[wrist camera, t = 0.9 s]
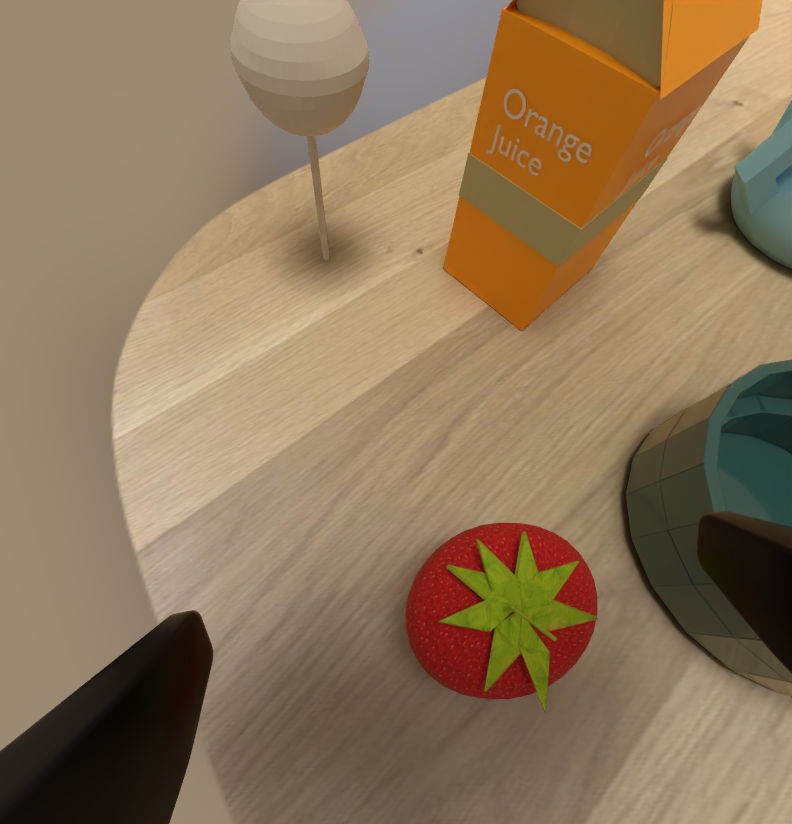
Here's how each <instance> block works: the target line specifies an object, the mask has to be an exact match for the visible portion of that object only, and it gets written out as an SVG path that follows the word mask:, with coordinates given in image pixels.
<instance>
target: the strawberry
mask: <svg viewBox="0 0 792 824" xmlns="http://www.w3.org/2000/svg"><path fill="white" fill-rule="evenodd" d="M596 617H597V593H596V588H595V583H594V579H593V577H592V575H591V572H590V570H589V567H588V565H587V564H586V562H585V561H584V560H583V558H582V557H581V555H580V554H579V552H578V551H577V550H576V549H575V548H573V547H572V546H571V545H570V544H569V543H568V542H567V541H566V540H564V539H563V538H561V537H560V536H558V535H556V534H555V533H553V532H551V531H548V530H546V529H543V528H541V527H537V526H532V525H527V524H521V523H494V524H487V525H481V526H478V527H475V528H472V529H469V530H466V531H464V532H462V533H460V534H459V535H457V536H455V537H453V538H451V539H450V540H448V541H447V542H446V543H444V544H443V545H442V546H440V547H439V548H438V549H437V550H436V551H435V552H434V553H433V554H432V555H431V556H430V557H429V558H428V559H427V561H426V562H425V563H424V565H423V566H422V568H421V569H420V571H419V572H418V574H417V576H416V577H415V580H414V582H413V585H412V587H411V590H410V592H409V596H408V602H407V607H406V630H407V634H408V638H409V642H410V646H411V648H412V650H413V652H414V654H415V656H416V658H417V660H418V662H419V663H420V664H421V665H422V667H423V668H424V669H425V670H426V671H427V673H428V674H429V675H430V676H431V677H433V678H434V679H435V680H437V681H438V682H439V683H441V684H442V685H443V686H445V687H447V688H449V689H451V690H453V691H456V692H458V693H460V694H463V695H468V696H473V697H477V698H484V699H512V698H517V697H522V696H526V695H530V694H532V693H534V692H537V693H538V696H539V698H540V701H541V703H542V706H543V708H544V711H545V713H546V703H547V688H548V686H549V685H551V684H552V683H554V682H555V681H557V680H558V679H560V678H561V677H563V676H564V675H565V674H566V673H567V672H568V671H569V670H570V669H571V668H572V667H573V666H574V665H575V664H576V663H577V661H578V660H579V658H580V657H581V655H582V654H583V652H584V651H585V649H586V648H587V645H588V643H589V641H590V638H591V636H592V634H593V631H594V627H595V622H596V619H597V618H596Z"/></svg>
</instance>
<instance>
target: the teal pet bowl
mask: <svg viewBox="0 0 792 824" xmlns="http://www.w3.org/2000/svg"><path fill="white" fill-rule="evenodd" d="M626 501H627V508H628V516H629V524H630V531H631V538H632V541H633V544H634V546H635V548H636V551H637V553H638V555H639V558H640V560H641V562H642V565H643V567H644V570H645V572H646V574H647V577H648V579H649V581H650V584H651V586H652V587H653V589H654V590H655V591H656V593H657V594H658V595H659V597H660V598H661V599H662V601H663V602H664V603H665V605H666V606H667V607H668V609H669V610H670V611H671V613H672V614H673V615H674V617H675V618H676V619H677V621H678V622H679V623H680V625H681V626H682V627H683V629H684V630H685V631H686V632H687V633H688V634H689V635H690V636H691V637H692V638H694V639H695V640H696V641H697V642H698V643H700V644H701V645H702V646H703V647H704V648H706V649H707V650H708V651H709V652H710V653H711V654H713V655H714V656H715V657H716V658H717V659H719V660H720V661H721V662H722V663H723V664H725V665H726V666H727V667H728V668H729V669H731V670H733V671H734V672H736V673H738V674H740V675H743V676H745V677H747V678H749V679H751V680H753V681H755V682H757V683H760V684H762V685H764V686H766V687H768V688H770V689H772V690H774V691H777V692H779V693H781V694H784V695H788V696H792V674H791V673H790V672H789V671H788V669H787V668H786V667H785V666H784V665H783V664H782V663H781V662H780V661H779V660H778V659H777V658H776V657H775V656H774V654H773V653H772V652H771V651H770V650H769V649H768V648H767V647H766V645H765V644H764V643H763V642H762V641H761V640H760V638H759V637H758V636H757V635H756V634H755V632H754V631H753V630H752V629H751V628H750V626H749V625H748V624H747V623H746V621H745V620H744V619H743V618H742V617H741V615H740V614H739V613H738V612H737V610H736V609H735V608H734V607H733V606H732V604H731V603H730V602H729V601H728V599H727V598H726V597H725V596H724V595H723V593H722V592H721V591H720V590H719V589H718V587H717V586H716V585H715V584H714V582H713V581H712V580H711V579H710V578H709V576H708V575H707V574H706V573H705V571H704V570H703V569H702V567H701V565H700V564H699V561H698V558H697V533H698V521H699V519H700V517H701V516H703V515H704V514H709V513H714V512H720V511H729V512H733V513H737V514H741V515H745V516H749V517H753V518H757V519H761V520H765V521H769V522H773V523H777V524H781V525H785V526H789V527H792V360H786V361H780V362H775V363H769V364H763V365H759V366H758V367H756V368H754V369H753V370H751V371H749V372H747V373H746V374H744V375H742V376H741V377H739V378H737V379H736V380H734V381H732V382H731V383H729V384H727V385H726V386H724V387H722V388H721V389H719V390H717V391H716V392H714V393H712V394H710V395H709V396H707V397H705V398H704V399H702V400H700V401H699V402H697V403H695V404H694V405H692V406H690V407H689V408H687V409H685V410H684V411H682V412H680V413H679V414H677V415H675V416H674V417H672V418H670V419H669V420H667V421H666V422H664V423H662V424H661V425H659V426H658V427H656V428H654V429H653V430H652V431H651V432H650V434H649V435H648V437H647V438H646V440H645V441H644V442H643V444H642V445H641V447H640V448H639V450H638V451H637V453H636V454H635V456H634V458H633V461H632V466H631V471H630V476H629V481H628V486H627V491H626Z"/></svg>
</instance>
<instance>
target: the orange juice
mask: <svg viewBox="0 0 792 824" xmlns="http://www.w3.org/2000/svg"><path fill="white" fill-rule="evenodd" d="M761 6H762V0H513V1H512V2H511V3H510V4H509V6H507V7H505V8H503V9H502V12H501V17H500V21H499V26H498V30H497V35H496V39H495V43H494V48H493V52H492V56H491V61H490V66H489V70H488V74H487V78H486V83H485V87H484V91H483V96H482V100H481V105H480V109H479V113H478V118H477V122H476V127H475V131H474V135H473V140H472V144H471V149H470V153H468V157H467V162H466V166H465V171H464V175H463V180H462V184H461V188H460V193H459V196H460V197H459V201H458V206H457V210H456V214H455V219H454V223H453V228H452V232H451V236H450V241H449V245H448V250H447V254H446V258H445V263H444V267H443V269H445V270H446V271H447V272H448V273H450V274H451V275H452V276H453V277H455V278H456V279H457V280H458V281H460V282H461V283H462V284H463V285H465V286H466V287H467V288H468V289H470V290H471V291H472V292H473V293H475V294H476V295H477V296H478V297H480V298H481V299H482V300H483V301H485V302H486V303H487V304H488V305H490V306H491V307H492V308H493V309H495V310H496V311H497V312H498V313H500V314H501V315H502V316H504V317H505V318H506V319H507V320H509V321H510V322H511V323H512V324H514V325H515V326H516V327H517V328H519V329H520V330H521V331H523V330H524V329H525V328H526V327H527V326H528V325H529V324H530V323H531V322H533V321H534V320H535V319H536V318H537V317H538V316H539V315H540V314H542V313H543V312H544V311H545V310H546V309H547V308H548V307H549V306H550V305H552V304H553V303H554V302H555V301H556V300H557V299H558V298H559V297H560V296H562V295H563V294H564V293H565V292H566V291H567V290H568V289H569V288H571V287H572V286H573V285H574V284H575V283H576V282H577V281H578V280H579V279H581V278H582V277H583V276H584V275H585V274H586V273H587V272H588V271H590V270H591V269H592V267H593V266H594V264H595V263H596V261H597V260H598V259H599V257H600V256H601V254H602V253H603V251H604V250H605V248H606V247H607V245H608V244H609V242H610V241H611V239H612V238H613V236H614V235H615V234H616V232H617V231H618V229H619V228H620V226H621V225H622V223H623V222H624V220H625V219H626V217H627V216H628V214H629V213H630V211H631V210H632V208H633V207H634V206H635V204H636V203H637V201H638V200H639V199H640V198H641V196H642V195H643V194H644V192H645V191H646V189H647V188H648V186H649V185H650V183H651V182H652V180H653V179H654V177H655V176H656V174H657V173H658V172H659V170H660V169H661V167H662V166H663V164H664V163H665V161H666V160H667V157H668V155H669V154H670V153H671V151H672V150H673V148H674V147H675V145H676V144H677V142H678V141H679V139H680V138H681V136H682V135H683V133H684V132H685V130H686V129H687V127H688V126H689V125H690V123H691V122H692V120H693V119H694V117H695V116H696V114H697V113H698V111H699V110H700V108H701V107H702V105H703V104H704V102H705V101H706V100H707V98H708V97H709V95H710V94H711V92H712V91H713V89H714V88H715V86H716V85H717V83H718V82H719V80H720V79H721V77H722V76H723V74H724V73H725V72H726V70H727V69H728V67H729V66H730V64H731V63H732V61H733V60H734V58H735V57H736V55H737V54H738V52H739V51H740V49H741V48H742V46H743V45H744V44H745V42H746V41H747V39H748V38H749V36H750V35H751V34H752V33H754V32H755V31H756V30H758V27H759V20H760V13H761Z"/></svg>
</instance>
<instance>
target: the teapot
mask: <svg viewBox="0 0 792 824" xmlns="http://www.w3.org/2000/svg"><path fill="white" fill-rule="evenodd" d="M734 168H735V175H734V178H733V181H732V189H731V205H732V214H733V217H734V220H735V222H736V224H737V226H738V228H739V229H740V231H741V232H742V233H743V235H744V236H745V237H746V238H747V239H748V240H749V242H750V243H752V244H753V245H754V246H755V247H756V248H757V249H758V250H760V251H761V252H762V253H763V254H765V255H766V256H768V257H769V258H771V259H772V260H774V261H776V262H778V263H780V264H782V265H784V266H786V267H788V268H790V269H792V101H791V103H790V104H789V106H788V108H787V109H786V111H785V113H784V115H783V116H782V118H781V120H780V122H779V123H778V125H777V127H776V128H775V130H774V132H773V134H772V135H771V136H770V137H769V138H768V139H766V140H765V141H764V142H763V143H761V144H760V145H759V146H758V147H757V148H756V149H754V150H753V151H752V152H751V153H750V154H749V155H747V156H746V157H745V158H744V159H743V160H741V161H740V162H739V163H738V164H737V165H735V166H734Z"/></svg>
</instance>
